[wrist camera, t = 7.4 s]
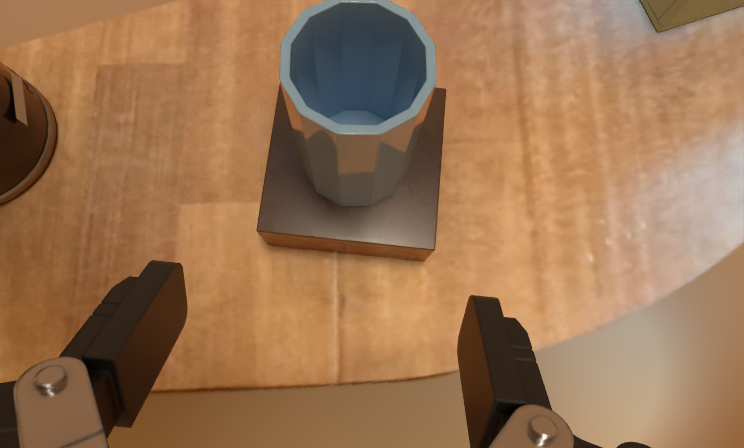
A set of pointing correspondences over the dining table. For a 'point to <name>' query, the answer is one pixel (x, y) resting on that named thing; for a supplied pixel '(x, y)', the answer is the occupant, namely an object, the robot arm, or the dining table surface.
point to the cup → (357, 95)
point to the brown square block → (353, 223)
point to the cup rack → (684, 10)
